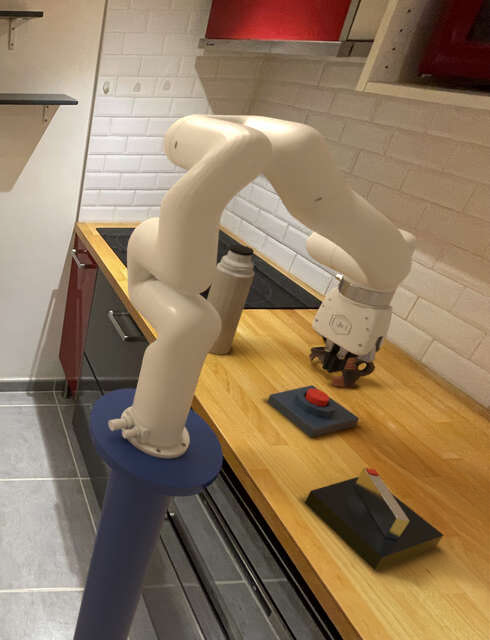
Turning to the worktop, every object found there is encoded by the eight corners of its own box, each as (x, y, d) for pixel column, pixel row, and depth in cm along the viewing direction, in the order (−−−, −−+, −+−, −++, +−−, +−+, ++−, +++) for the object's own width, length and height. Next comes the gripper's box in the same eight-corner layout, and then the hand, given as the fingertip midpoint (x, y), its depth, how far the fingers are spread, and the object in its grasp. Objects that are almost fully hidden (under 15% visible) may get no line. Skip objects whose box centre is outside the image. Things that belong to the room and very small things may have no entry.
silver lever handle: (397, 540, 68) (410, 520, 66) (384, 537, 68) (397, 517, 66) (364, 488, 75) (375, 468, 74) (353, 486, 76) (364, 466, 74)
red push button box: (310, 437, 89) (317, 422, 87) (267, 402, 98) (272, 387, 96) (355, 426, 92) (362, 411, 90) (309, 392, 101) (315, 378, 99)
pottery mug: (319, 387, 103) (313, 351, 104) (305, 379, 112) (300, 345, 113) (385, 388, 98) (379, 350, 99) (365, 379, 107) (360, 345, 108)
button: (317, 408, 91) (320, 402, 91) (300, 396, 95) (303, 390, 94) (330, 405, 92) (333, 399, 92) (314, 393, 95) (316, 387, 95)
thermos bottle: (201, 331, 122) (227, 238, 110) (233, 344, 117) (265, 247, 105) (191, 344, 116) (218, 247, 105) (224, 358, 111) (257, 258, 100)
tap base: (374, 569, 66) (382, 557, 65) (304, 502, 76) (310, 490, 75) (435, 547, 70) (444, 535, 68) (360, 485, 79) (367, 473, 78)
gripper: (310, 275, 88) (283, 350, 96) (395, 316, 75) (356, 399, 83) (339, 270, 90) (310, 344, 98) (427, 309, 77) (385, 391, 84)
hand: (331, 369), depth 90 cm, fingers closed
